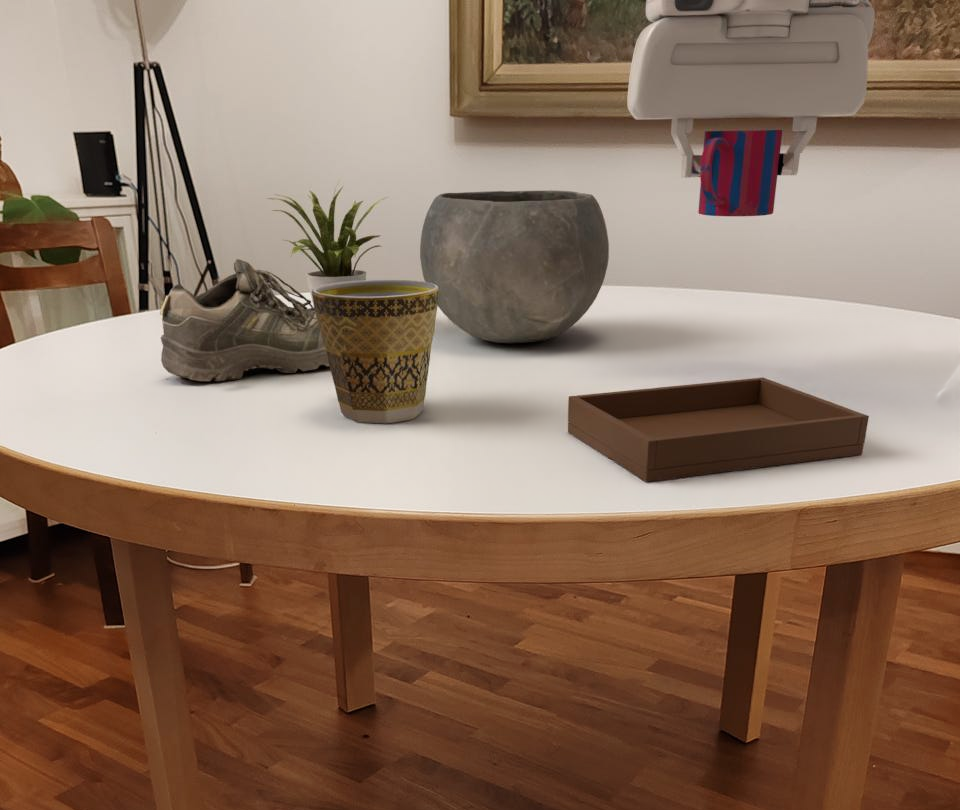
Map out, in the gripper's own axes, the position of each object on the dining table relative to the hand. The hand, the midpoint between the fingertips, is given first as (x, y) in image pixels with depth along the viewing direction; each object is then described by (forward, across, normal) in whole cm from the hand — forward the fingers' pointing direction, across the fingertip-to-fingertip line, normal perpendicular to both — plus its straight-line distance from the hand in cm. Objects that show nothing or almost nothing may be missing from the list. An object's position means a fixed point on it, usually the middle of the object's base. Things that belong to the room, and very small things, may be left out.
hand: (738, 176), depth 88 cm
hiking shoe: (+17, +44, -6) cm, 48 cm away
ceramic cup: (+17, +33, +12) cm, 39 cm away
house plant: (+17, +40, -28) cm, 52 cm away
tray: (+17, +8, +25) cm, 31 cm away
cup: (+3, +1, 0) cm, 3 cm away
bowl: (+17, +18, -18) cm, 31 cm away
